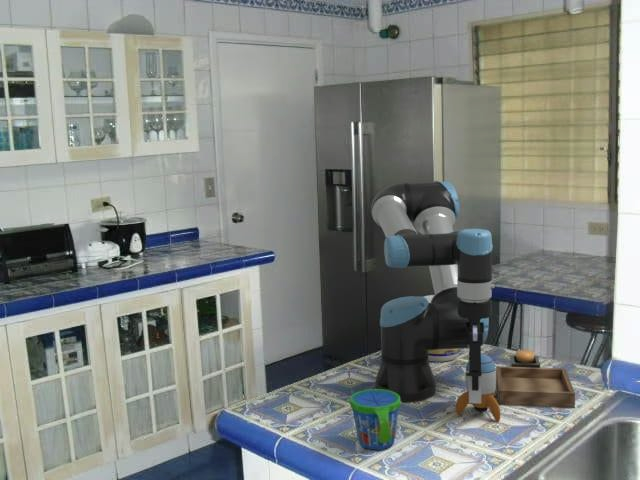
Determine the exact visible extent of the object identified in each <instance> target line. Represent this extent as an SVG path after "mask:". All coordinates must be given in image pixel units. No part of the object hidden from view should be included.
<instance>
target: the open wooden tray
mask: <svg viewBox="0 0 640 480" xmlns="http://www.w3.org/2000/svg"><path fill="white" fill-rule="evenodd" d="M495 368H496V389H497V400H498V401H497V402H498V405H499V406H518V407H519V406H523V407H542V408H544V407H546V408H561V409H562V408H564V409H565V408H567V409H570V408H571V409H575V408H576V407H575V406H576V392H575V390H574V388H573V385H572V382H571V379H570V377H569V375H568V372H567V369H566V368H561V367H560V368H557V367H555V368H554V367H552V368H551V367H540V368H531V367H510V366H501V365H500V366H496V365H495Z"/></svg>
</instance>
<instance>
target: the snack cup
mask: <svg viewBox="0 0 640 480" xmlns="http://www.w3.org/2000/svg"><path fill="white" fill-rule="evenodd" d="M349 405H350V407H351V410H352V413H353V420H354V424H355V430H356V435H357V439H358V443H359V444H360V446H362V447H363V448H364V449H368V450H375V451H377V450H380V451H382V450H384V449H388V448H390V447H392V446H393V445H394V443H395V440H396V434H397V433H396V432H397V425H398V416H399V409H400V407H401V405H402V401H401V400H400V396H399V395H398V394H397V393H395V392H393V391H389V390H383V389H375V388H371V389H370V388H369V389H364V390H359V391H357V392H355V393H353V394H351V396H350V398H349Z"/></svg>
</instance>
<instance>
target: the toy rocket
mask: <svg viewBox="0 0 640 480" xmlns="http://www.w3.org/2000/svg"><path fill="white" fill-rule="evenodd" d="M469 372H470V359H469V358H468V361H467V364H466V368H465V373H464V375H465V388H466V391H465V392H463V393H462V394H461V395H459V397H458V398H457V400H456V402H455V407H454V408H455V409H454V410H455V413H456V415H457V416H461V414H462V413H463V412H464V410H465V409H466V408H467V407H468V405H471V406H473V407H474V410H475V411H476V412H480V413H481V412H482V413H483V412H485V413H486V412H487V411H488V408H489V412H490V414H491V415H492V417H493V419H494V421H495V422H500V420H501V409H500V405H499V402H498V401H497V400H496V398H495V397H494V396H495V392H496V389H497V383H496V365H495V363H494V361H493V359H492V358H491V357H490V356H489V355H487V354H485V353H481V372H482V375H481V404H478V403H469V376H466V373H469Z"/></svg>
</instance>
